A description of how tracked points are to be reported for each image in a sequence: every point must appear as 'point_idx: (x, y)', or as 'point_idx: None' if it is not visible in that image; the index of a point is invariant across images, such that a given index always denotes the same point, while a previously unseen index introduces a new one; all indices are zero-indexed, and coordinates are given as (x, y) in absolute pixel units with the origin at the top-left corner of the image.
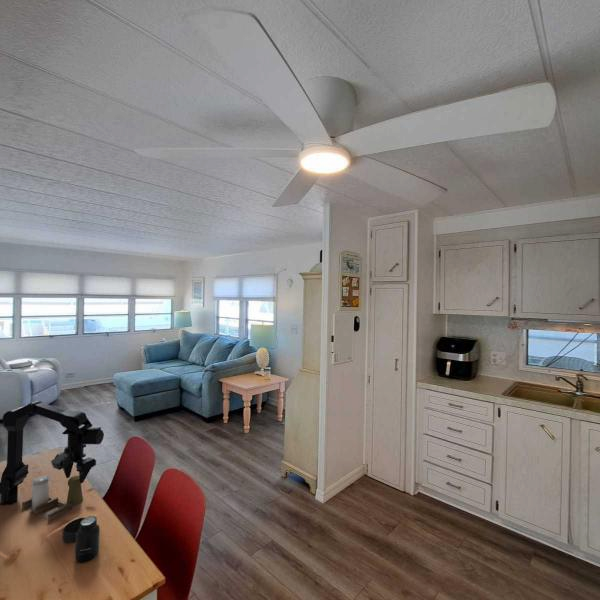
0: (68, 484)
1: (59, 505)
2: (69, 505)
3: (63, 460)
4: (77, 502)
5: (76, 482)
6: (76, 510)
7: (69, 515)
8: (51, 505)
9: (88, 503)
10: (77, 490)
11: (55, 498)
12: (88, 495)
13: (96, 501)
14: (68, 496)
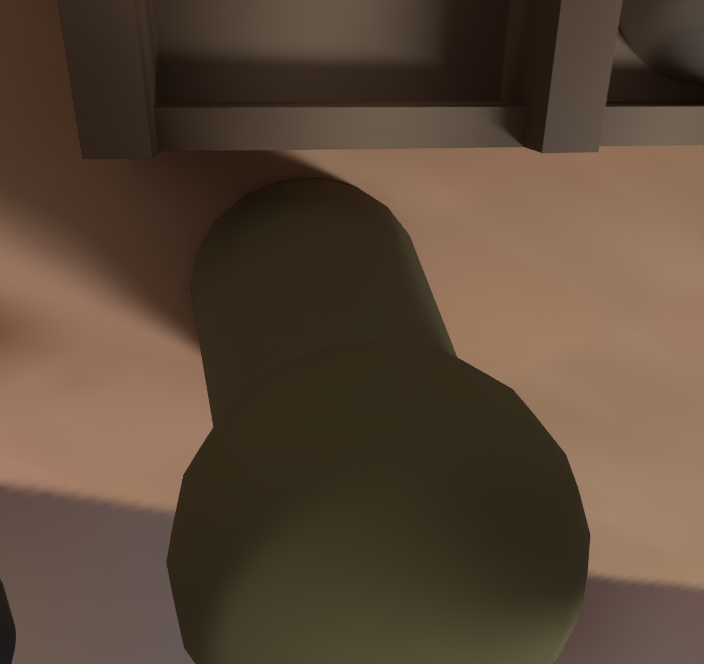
0: (404, 358)
1: (408, 102)
2: (81, 108)
3: None
4: (197, 295)
5: (175, 531)
6: (68, 193)
7: (10, 42)
8: (519, 10)
9: (107, 385)
10: (210, 405)
11: (572, 110)
12: None
13: (55, 464)
14: (342, 246)
